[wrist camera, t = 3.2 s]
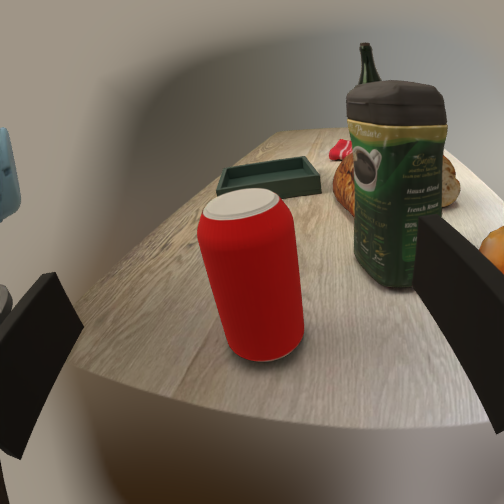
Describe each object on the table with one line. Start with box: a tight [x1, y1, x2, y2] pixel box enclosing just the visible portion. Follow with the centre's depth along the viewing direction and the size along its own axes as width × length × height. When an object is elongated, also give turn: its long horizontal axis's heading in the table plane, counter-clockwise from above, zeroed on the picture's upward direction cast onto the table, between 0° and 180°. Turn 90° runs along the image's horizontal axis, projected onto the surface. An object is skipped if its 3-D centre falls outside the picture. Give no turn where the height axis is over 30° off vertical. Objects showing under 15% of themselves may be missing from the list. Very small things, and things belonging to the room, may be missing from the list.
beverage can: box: [197, 188, 304, 362], centre depth 22 cm, size 6×6×12 cm
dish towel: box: [329, 139, 353, 160], centre depth 71 cm, size 17×24×3 cm
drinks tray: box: [216, 156, 322, 199], centre depth 59 cm, size 18×16×3 cm
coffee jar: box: [346, 80, 448, 287], centre depth 26 cm, size 10×8×19 cm
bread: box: [333, 152, 460, 217], centre depth 44 cm, size 20×18×10 cm
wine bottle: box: [358, 43, 382, 85], centre depth 89 cm, size 10×10×33 cm
